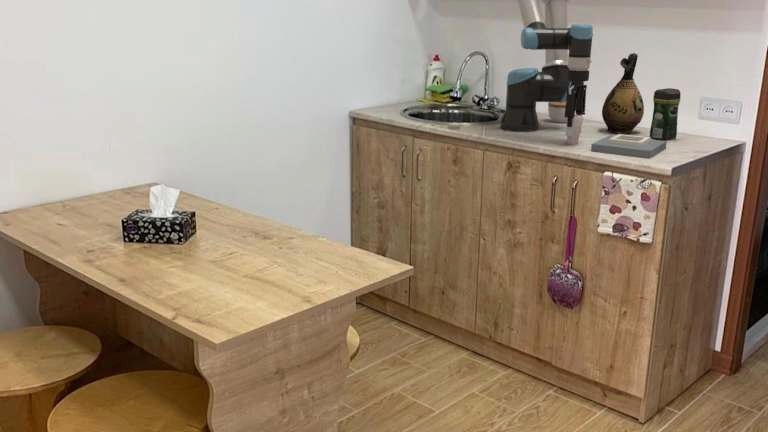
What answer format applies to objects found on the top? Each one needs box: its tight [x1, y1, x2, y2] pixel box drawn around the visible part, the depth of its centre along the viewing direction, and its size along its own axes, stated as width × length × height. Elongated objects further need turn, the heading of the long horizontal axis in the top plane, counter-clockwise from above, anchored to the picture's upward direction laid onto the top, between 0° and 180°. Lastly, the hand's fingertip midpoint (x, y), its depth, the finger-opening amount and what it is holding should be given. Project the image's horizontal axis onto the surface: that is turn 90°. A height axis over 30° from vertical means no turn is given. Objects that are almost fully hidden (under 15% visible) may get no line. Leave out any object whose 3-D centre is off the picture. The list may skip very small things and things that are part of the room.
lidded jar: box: [547, 102, 566, 124], centre depth 320 cm, size 11×11×9 cm
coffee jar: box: [649, 87, 682, 141], centre depth 285 cm, size 10×8×19 cm
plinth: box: [590, 133, 668, 159], centre depth 267 cm, size 20×20×4 cm
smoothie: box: [566, 114, 585, 145], centre depth 276 cm, size 6×6×14 cm
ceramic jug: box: [601, 52, 645, 135], centre depth 297 cm, size 17×15×30 cm
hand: (573, 134), depth 277 cm, fingers open, 6 cm apart
